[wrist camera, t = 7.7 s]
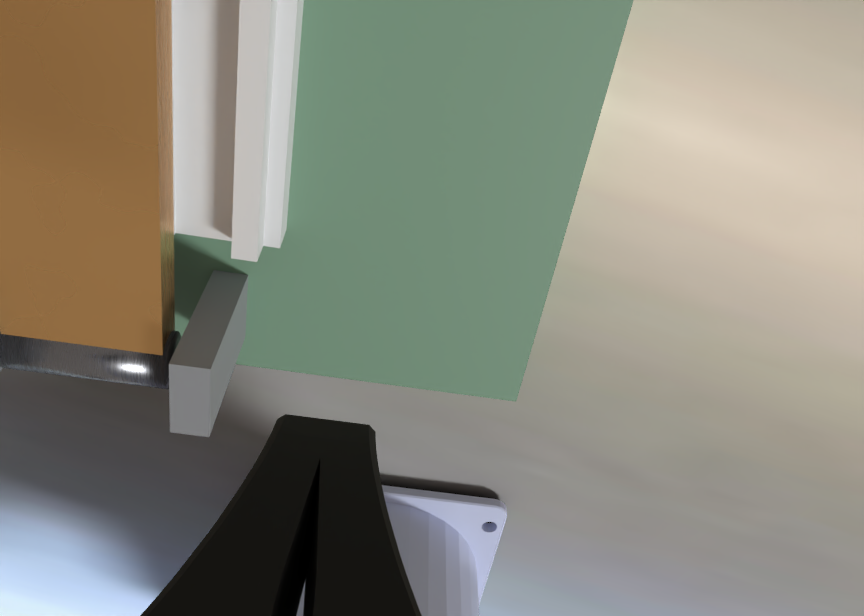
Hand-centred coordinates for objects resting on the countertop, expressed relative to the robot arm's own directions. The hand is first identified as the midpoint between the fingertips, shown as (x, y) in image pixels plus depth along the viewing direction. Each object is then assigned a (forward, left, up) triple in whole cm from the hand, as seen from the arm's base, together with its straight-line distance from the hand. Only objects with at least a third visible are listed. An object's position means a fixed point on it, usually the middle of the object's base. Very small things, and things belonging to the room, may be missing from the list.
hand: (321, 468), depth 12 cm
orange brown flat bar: (+3, +6, -7) cm, 10 cm away
